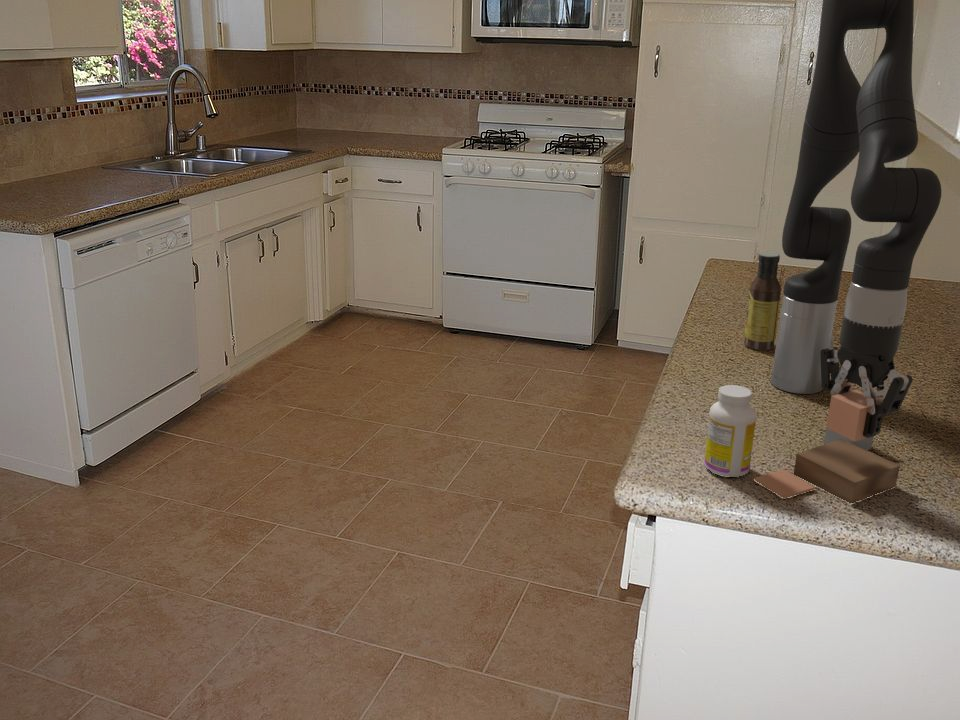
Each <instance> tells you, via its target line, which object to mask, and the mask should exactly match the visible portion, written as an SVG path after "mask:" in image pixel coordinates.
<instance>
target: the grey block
mask: <svg viewBox="0 0 960 720" xmlns="http://www.w3.org/2000/svg"><path fill="white" fill-rule="evenodd" d="M824 433H825V434H824V437H823V438H824V439H823V443H824V442H825V443H830V442H833V441H836V440H839V439H843V440H845V441H847V442H849V443H851V444H854V445H856V446H858V447H860V448H862V449H865V450H867V449H870V448H871V449H872V447H873V446H872V445H873V441H874V436H873V437H870V438H865V439H862V440H858V441H852V440H850V439H848V438H846V437H844V436H842V435H840V434H838V433H836V432H834V431H832V430H830V429H828V428H826V427H825V432H824ZM825 443H824V444H825ZM871 449H870V450H871ZM867 451H868V450H867Z"/></svg>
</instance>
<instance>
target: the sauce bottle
mask: <svg viewBox="0 0 960 720" xmlns="http://www.w3.org/2000/svg"><path fill="white" fill-rule="evenodd" d="M780 258H781V256H780V253H777V252H774V251H763V252H759V254H758V258H757V259H758V269H757V274H756V275H757V276H756V277H755V278H754V279H753V281H752V282H751V283H750V287H749V289H748V290H749V292H748V299H747V310H746V317H745V318H746V320H745V327H744V341H743V342H744V345H745V346H746V347H747V348H749V349H751V350H754V349H755V350H756V351H762V352H764V351H769V350H772V349H774V346H775V340H777V333H778V325H779V315H780V308H781V307H780V305H781V296H782V295H781V293H782V286H781V283H780V281H779V279H778V278H777V276H778V267H779V262H780Z"/></svg>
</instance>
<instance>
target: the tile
mask: <svg viewBox="0 0 960 720" xmlns="http://www.w3.org/2000/svg"><path fill="white" fill-rule="evenodd" d="M793 474H794V473H791V472H789V471H788V470H786V469H779V470H776V471H773V472H770V473H769V472H768V473H765V474H763V475H759V476H755V477H753V480H754V479H755V480H756V481H757V482H759V483H761V484H762V485H763V486H765V487H766V488H768V489H770V490H772V491H773V492H775V493H777V494H778V495H780V496H781V497H783V498H787V497H790V496H794V495H798V494H801V493H804V492H807V491H810V490H813V489H816V487H814V486H813V485H811V484H809V483H807V482H805V481H804V480H802V479H800V478H798V477H797V476H795V475H793Z"/></svg>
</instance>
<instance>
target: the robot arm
mask: <svg viewBox="0 0 960 720" xmlns="http://www.w3.org/2000/svg"><path fill="white" fill-rule="evenodd" d="M914 2H915V0H822V4H821V5H822V6H821V16H820V25H819V32H818V34H819V35H818V43H817V52H816V59H815V66H814V72H813V77H812V78H813V79H812V82H811V88H810V93H809V98H808V103H807V108H806V110H805V111H806V112H805V116H804V121H803V125H802V126H803V128H802V133H801V138H800V139H801V141H800V148H799V155H798V162H797V169H796V175H795V179H794V185H793V189H792V192H791V196H790V200H789V205H788V207H787V212H786V216H785V219H784V225H783V230H782V238H781V244H782V245H781V246H782V250H783V254H784V255H786V256H787V257H788V258H792V259H796V260H797V259H798V260H807V261H810V260H811V261H823V262H822V263H821V264H820V265H819V266H817V267H816V268H814V269H811V270H809V271H806V272H801V273H797V274H794V275H792V276H790V277H788V278H786V279H785V282H784V286H783V292H782V293H783V294H782V301H781V307H780V313H779V315H780V316H779V320H778V327H777V334H776V344H775V351H774V355H773V356H774V357H773V362H772V363H773V364H772V370H771V379H770V383H771V385H772V386H774V387H775V388H776V389H779V390H781V391H785V392H789V393H792V394H801V395H812V394H817V393H819V392H822V391H823V390H827V391H828V392H829V393H830V396H834V395H838V394H842V393H846V392H850V391H852V388H853V387H854V385H857V386H859V387H860V388H862V393H863V396H864V397H865V398H866V400H867V408H868V413H867V414H866V420H865V425H864V430H863V436H865V437H867V438H870V437H873V438H874V437H876V436H877V435H876V434H879V435H880V432H881V429H882V423H883V419H884V416H886V415H889V414H894V413H897V412H899V410H900V408H901V406H902V403H903V401H904V400H905V398H906V396H907V393H908V391H909V389H910V387H911V386H912V383H913V377H912V375H911V374H905V375H903V374H902V373H901V372H899V371H897V370H896V366H895V362H894V361H895V360H894V358H895V355H896V354H897V352H898V349H899V346H900V339H901V335H902V329H903V324H904V319H905V314H906V309H907V304H908V290H909V289H908V287H909V284H910V278H911V272H912V267H913V262H914V259H915V256H916V253H917V252H918V249H919V247H920V246H921V242H922V241H923V239H924V236H925V234H926V232H927V231H928V229H929V227H930V226H931V223H932V221H933V220H934V217H935V216H936V213H937V211H938V209H939V207H940V203H941V199H942V191H943V190H942V184H941V181H940V179H939V177H938V175H937V174H936V173H935V172H934V171H933V170H931V169H930V168H929V169H928V168H925V167H892V166H891V167H890V166H889V167H887V166H885V164H887V163H893V162H896V161H899V160H902V159H904V158H907V157H909V156H910V155H911V154H913V152H915V150H916V149H917V146H918V143H919V134H918V133H919V132H918V126H917V125H918V123H917V118H916V110H915V109H916V108H915V104H914V103H915V101H914V96H913V95H914V94H913V83H912V82H913V78H912V77H913V75H912V73H913V52H914V51H913V50H914V49H913V48H914V16H915V15H914V13H915V9H914V7H915V6H914V5H915V3H914ZM873 29H875V30H877V29H884V30H885V41H884V46H883V49H882V51H881V52H880V55H878V58H877V60H876V61H875V63H874V65H873V66H872V68H871V70H870V71H869V73H868V74H867V76H866V78H865V79H864V81H863V83H862V85H861V84H860V82H859V80H858V79H857V77H856V75H855V73H854V72H853V70H852V68H851V67H852V66H851V65H850V63H849V60H848V57H847V54H846V50H845V38H846V34H847V33H848V32H849V31H858V30H860V31H861V30H873ZM857 156H858V158H857V159H858V160H857V167H856V173H855V177H854V180H853V184H852V188H851V195H850V205H851V208H852V210H853V212H854V214H855V215H856V217H857V218H858V219H860V220H862V221H863V222H867V223H895V225H894V226H893V228H892V229H891V230H890V231H889V232H887V233H886V234H883V235H880V236H874V237H871V238H866V239H864V240H862V241H861V242H860V243H859V244H858V246H857V249H856V251H855V257H854V264H853V270H852V276H851V280H850V285H849V288H848V290H847V294H846V299H845V305H844V312H843V316H842V317H843V318H842V322H841V323H842V324H841V329H840V335H839V341H838V342H839V344H840V347H839V348H838V347H837V346H834V345H835V338H834V337H833V328H834V323H835V318H836V310H837V305H838V299H839V292H840V285H841V280H842V274H843V268H844V265H845V260H846V255H847V251H848V247H849V243H850V237H851V233H852V217H851V213H850V211H848V210H847V209H846V208H840V207H828V206H827V207H825V206H812V205H813V203H814V201H815V200H816V198H817V196H818V195H819V194H820V193H821V192H822V190H823V189H824V188H825V187H826V186H827V185H828V184H829V183H830V182H831V181H832V180H834V179H835V178H836V177H837V176H839V174H840V173H842V172H843V171H844V170H845V169H846V168H847V167H848V166H849V165H850V164H851V163H852V162H853V160H854V159H855V158H856V157H857ZM840 366H841V368H840ZM887 379H889V381H888V383H887ZM874 388H876V389H874ZM873 389H874V390H873ZM876 400H877V403H876Z"/></svg>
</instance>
